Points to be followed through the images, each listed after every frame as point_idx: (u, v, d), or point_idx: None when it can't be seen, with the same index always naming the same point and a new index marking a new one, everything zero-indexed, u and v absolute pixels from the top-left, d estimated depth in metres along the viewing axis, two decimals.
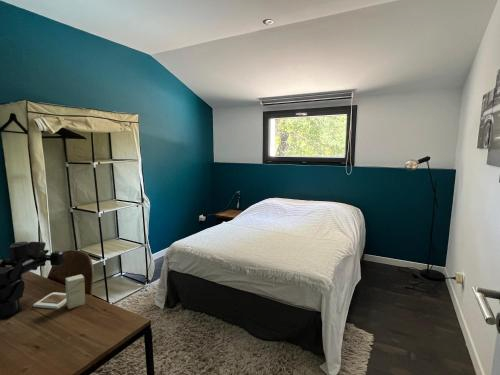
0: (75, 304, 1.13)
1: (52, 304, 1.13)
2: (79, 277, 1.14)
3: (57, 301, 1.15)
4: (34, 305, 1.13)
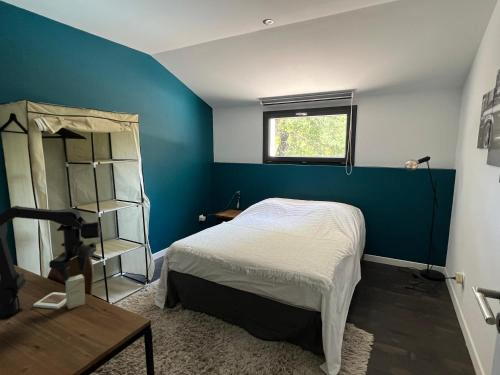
0: (75, 304, 1.13)
1: (52, 304, 1.13)
2: (79, 277, 1.14)
3: (57, 301, 1.15)
4: (34, 305, 1.13)
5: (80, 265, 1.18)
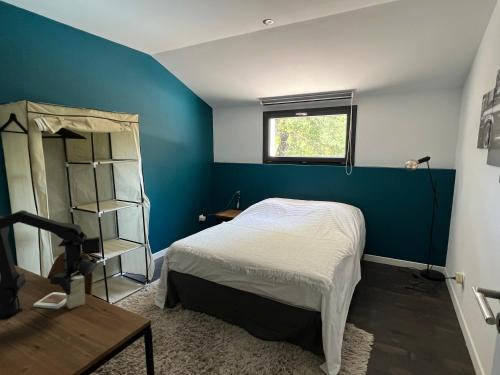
0: (75, 304, 1.13)
1: (52, 304, 1.13)
2: (79, 277, 1.14)
3: (57, 301, 1.15)
4: (34, 305, 1.13)
5: None
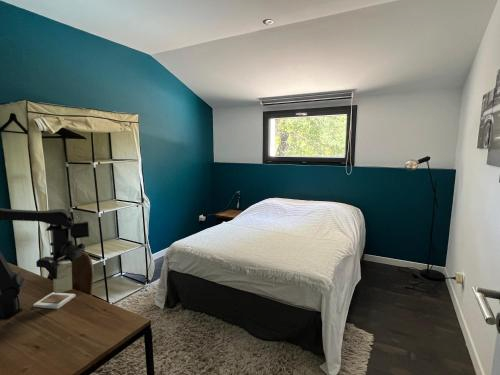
0: (62, 289, 1.13)
1: (52, 304, 1.13)
2: (66, 262, 1.14)
3: (57, 301, 1.15)
4: (34, 305, 1.13)
5: None
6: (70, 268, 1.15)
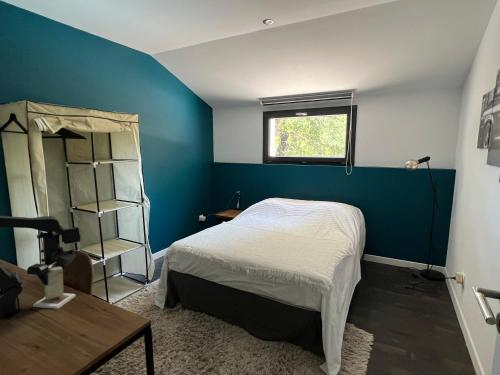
0: (53, 295, 1.15)
1: (52, 304, 1.13)
2: (57, 268, 1.16)
3: (57, 301, 1.15)
4: (34, 305, 1.13)
5: None
6: (61, 274, 1.16)
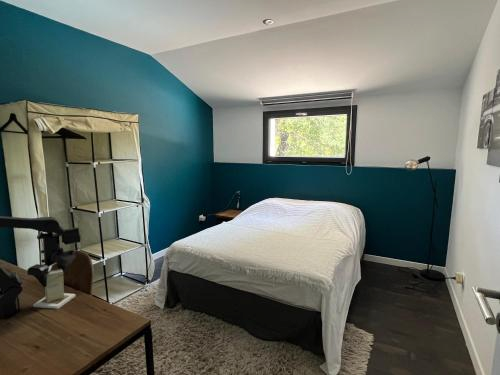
0: (54, 298, 1.15)
1: (52, 304, 1.13)
2: (58, 271, 1.16)
3: (57, 301, 1.15)
4: (34, 305, 1.13)
5: None
6: (62, 277, 1.16)
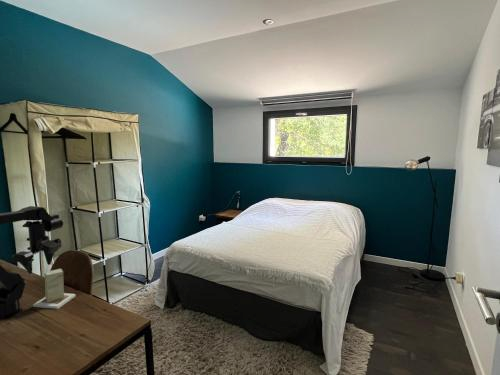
0: (54, 298, 1.15)
1: (52, 304, 1.13)
2: (58, 271, 1.16)
3: (57, 301, 1.15)
4: (34, 305, 1.13)
5: (47, 259, 1.23)
6: (62, 277, 1.16)
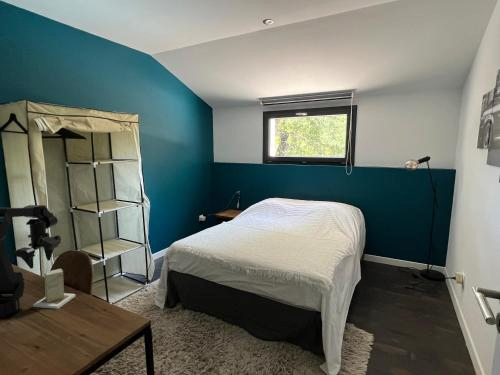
0: (54, 298, 1.15)
1: (52, 304, 1.13)
2: (58, 271, 1.16)
3: (57, 301, 1.15)
4: (34, 305, 1.13)
5: (47, 255, 1.30)
6: (62, 277, 1.16)
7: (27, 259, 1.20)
